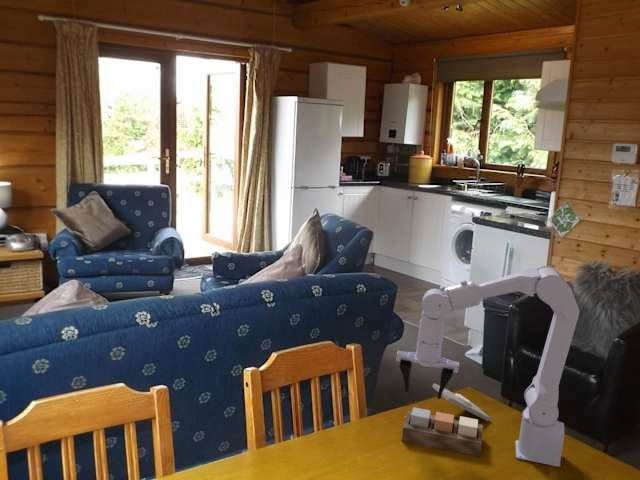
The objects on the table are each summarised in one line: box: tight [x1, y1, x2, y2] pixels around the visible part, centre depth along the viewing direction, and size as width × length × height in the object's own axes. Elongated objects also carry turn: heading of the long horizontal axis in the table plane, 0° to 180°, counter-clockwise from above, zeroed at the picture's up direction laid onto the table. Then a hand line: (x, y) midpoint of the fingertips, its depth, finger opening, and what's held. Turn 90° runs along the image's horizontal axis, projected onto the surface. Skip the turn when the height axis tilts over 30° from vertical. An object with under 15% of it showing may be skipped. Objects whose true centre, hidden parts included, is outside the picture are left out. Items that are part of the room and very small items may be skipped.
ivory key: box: [458, 416, 479, 438], centre depth 142 cm, size 4×4×3 cm
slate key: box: [410, 406, 431, 428], centre depth 145 cm, size 4×4×3 cm
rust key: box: [434, 411, 455, 433], centre depth 143 cm, size 4×4×3 cm
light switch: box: [431, 383, 491, 422], centre depth 156 cm, size 8×6×14 cm
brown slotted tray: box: [401, 410, 483, 458], centre depth 144 cm, size 18×9×4 cm, turn 74°
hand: (423, 393), depth 144 cm, fingers open, 7 cm apart
